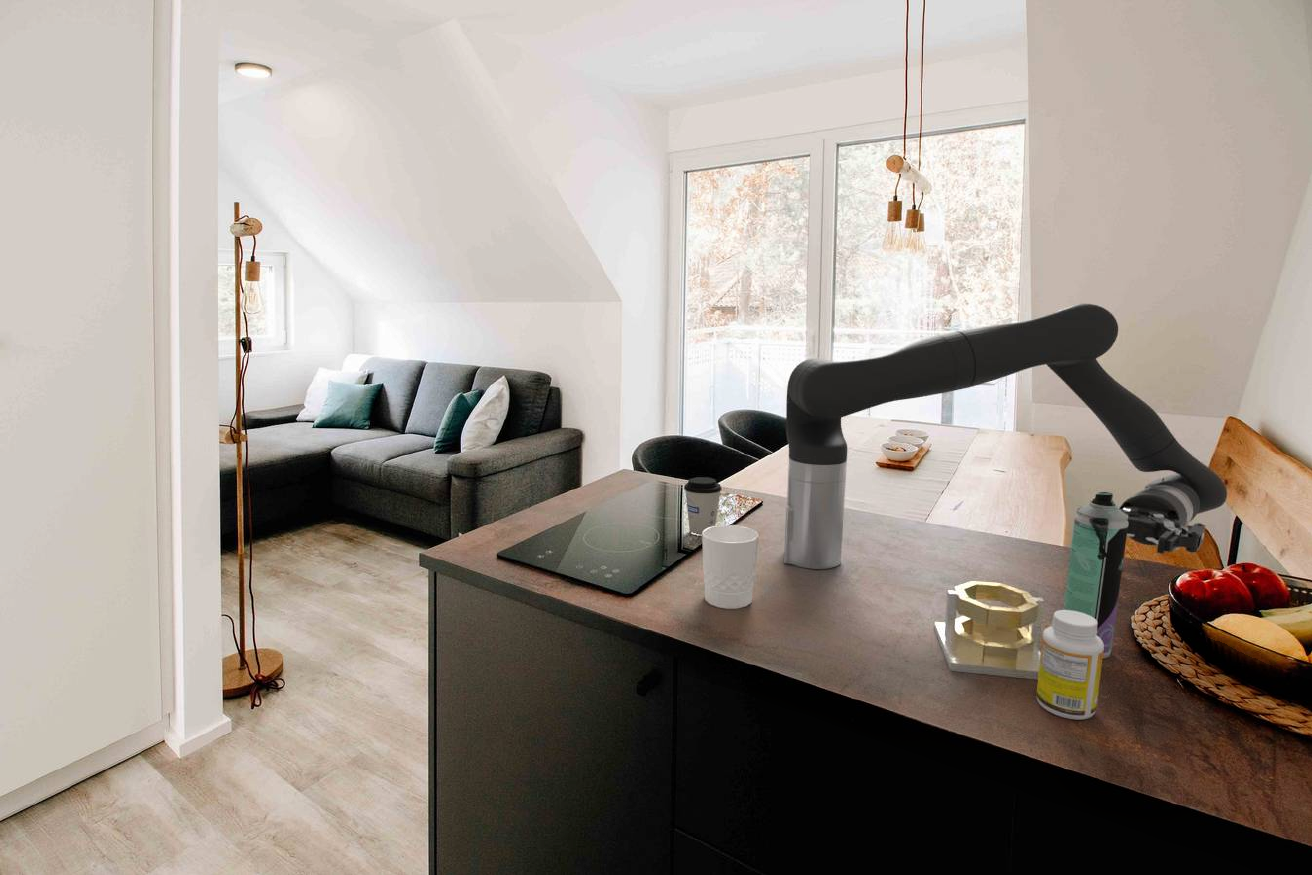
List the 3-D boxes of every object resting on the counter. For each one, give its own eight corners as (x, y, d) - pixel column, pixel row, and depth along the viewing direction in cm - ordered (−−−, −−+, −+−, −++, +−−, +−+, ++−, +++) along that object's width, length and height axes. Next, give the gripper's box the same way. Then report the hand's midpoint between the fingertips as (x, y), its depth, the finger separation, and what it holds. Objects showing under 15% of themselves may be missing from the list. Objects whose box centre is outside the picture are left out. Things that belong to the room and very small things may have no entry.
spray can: (1118, 661, 85) (1140, 500, 81) (1068, 656, 86) (1088, 497, 82) (1099, 640, 90) (1120, 488, 87) (1053, 635, 91) (1071, 485, 88)
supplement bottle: (1068, 690, 78) (1079, 604, 77) (1108, 719, 73) (1120, 627, 71) (1023, 695, 78) (1033, 608, 76) (1060, 724, 72) (1072, 631, 70)
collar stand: (950, 670, 83) (955, 610, 81) (934, 628, 93) (938, 575, 92) (1053, 681, 80) (1060, 619, 79) (1024, 637, 91) (1030, 582, 90)
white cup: (760, 592, 104) (763, 528, 103) (749, 614, 97) (751, 545, 95) (708, 585, 107) (710, 522, 105) (694, 606, 100) (695, 538, 98)
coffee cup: (715, 525, 136) (716, 475, 134) (725, 537, 129) (726, 484, 127) (679, 527, 134) (680, 476, 132) (687, 539, 128) (688, 485, 126)
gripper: (1104, 479, 108) (1066, 498, 97) (1221, 499, 98) (1193, 522, 87) (1098, 526, 110) (1060, 550, 99) (1212, 550, 99) (1184, 580, 89)
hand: (1122, 537), depth 93 cm, fingers open, 8 cm apart
